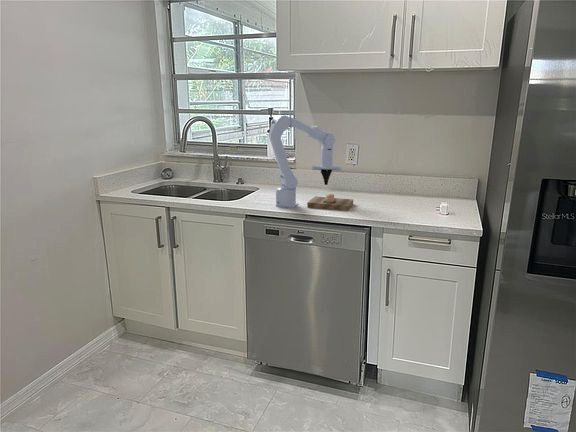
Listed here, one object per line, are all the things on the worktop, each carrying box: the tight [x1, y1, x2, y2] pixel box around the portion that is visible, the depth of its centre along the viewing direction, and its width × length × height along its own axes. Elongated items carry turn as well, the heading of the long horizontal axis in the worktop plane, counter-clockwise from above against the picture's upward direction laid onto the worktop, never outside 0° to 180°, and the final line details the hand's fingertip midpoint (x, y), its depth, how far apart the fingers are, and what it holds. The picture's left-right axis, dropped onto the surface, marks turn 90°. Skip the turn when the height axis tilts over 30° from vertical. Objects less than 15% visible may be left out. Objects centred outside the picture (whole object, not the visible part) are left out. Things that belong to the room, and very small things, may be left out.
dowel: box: [325, 193, 335, 203], centre depth 208 cm, size 4×4×6 cm
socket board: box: [306, 196, 354, 212], centre depth 211 cm, size 20×14×2 cm
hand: (326, 184), depth 215 cm, fingers closed
